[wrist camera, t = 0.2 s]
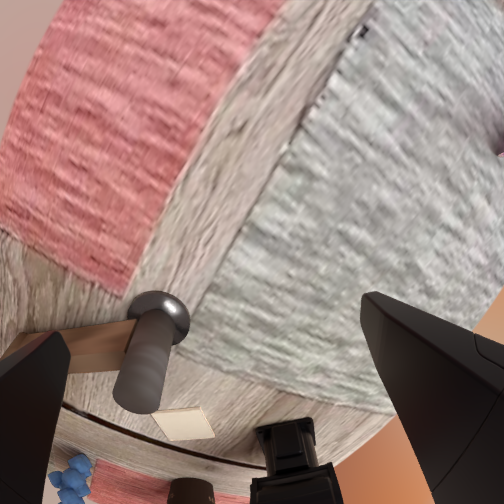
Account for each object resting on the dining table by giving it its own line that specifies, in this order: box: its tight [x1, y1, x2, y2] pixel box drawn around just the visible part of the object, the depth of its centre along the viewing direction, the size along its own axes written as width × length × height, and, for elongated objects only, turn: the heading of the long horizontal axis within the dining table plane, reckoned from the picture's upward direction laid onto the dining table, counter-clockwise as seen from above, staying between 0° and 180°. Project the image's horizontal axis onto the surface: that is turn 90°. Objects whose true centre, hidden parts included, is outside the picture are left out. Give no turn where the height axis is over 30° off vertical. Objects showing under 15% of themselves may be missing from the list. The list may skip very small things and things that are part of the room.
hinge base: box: [128, 291, 190, 346], centre depth 25 cm, size 5×5×1 cm
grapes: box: [48, 454, 92, 504], centre depth 28 cm, size 12×7×12 cm, turn 157°
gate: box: [0, 309, 175, 414], centre depth 20 cm, size 18×3×8 cm, turn 101°
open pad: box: [151, 407, 215, 441], centre depth 30 cm, size 6×6×1 cm
